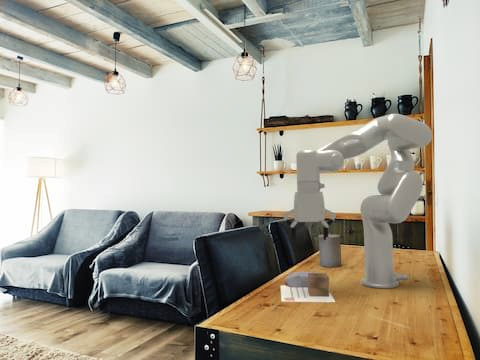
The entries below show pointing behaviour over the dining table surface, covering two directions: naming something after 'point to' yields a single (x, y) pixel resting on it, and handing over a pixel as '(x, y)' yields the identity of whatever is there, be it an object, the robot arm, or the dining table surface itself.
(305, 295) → the letter
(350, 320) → the dining table surface
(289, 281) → the stone block
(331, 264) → the pillar candle
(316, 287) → the walnut cube
